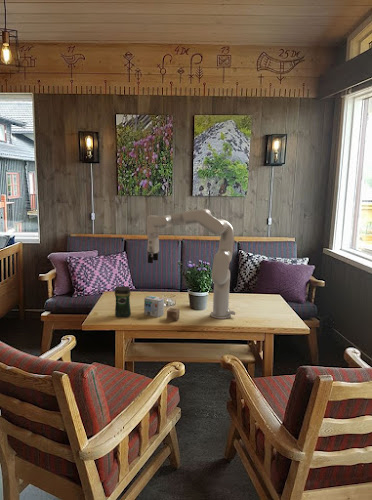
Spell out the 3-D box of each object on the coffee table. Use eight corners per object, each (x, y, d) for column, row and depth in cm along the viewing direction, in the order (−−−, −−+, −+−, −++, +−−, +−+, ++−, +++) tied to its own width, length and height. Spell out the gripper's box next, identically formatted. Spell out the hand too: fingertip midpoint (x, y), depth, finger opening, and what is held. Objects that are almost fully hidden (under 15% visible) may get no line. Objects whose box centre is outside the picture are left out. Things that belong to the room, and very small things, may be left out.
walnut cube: (179, 318, 246) (179, 309, 245) (176, 321, 241) (176, 312, 240) (169, 317, 248) (169, 308, 247) (166, 320, 242) (166, 311, 241)
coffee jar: (131, 313, 253) (131, 285, 250) (130, 318, 245) (130, 288, 242) (115, 313, 252) (115, 284, 249) (114, 318, 244) (113, 288, 241)
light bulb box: (143, 314, 252) (143, 297, 250) (149, 311, 258) (149, 295, 256) (158, 317, 247) (158, 300, 246) (164, 314, 253) (164, 297, 251)
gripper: (154, 237, 247) (154, 264, 250) (163, 233, 264) (162, 259, 267) (142, 236, 249) (142, 263, 252) (152, 233, 266) (151, 258, 268)
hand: (152, 261), depth 259 cm, fingers open, 9 cm apart
